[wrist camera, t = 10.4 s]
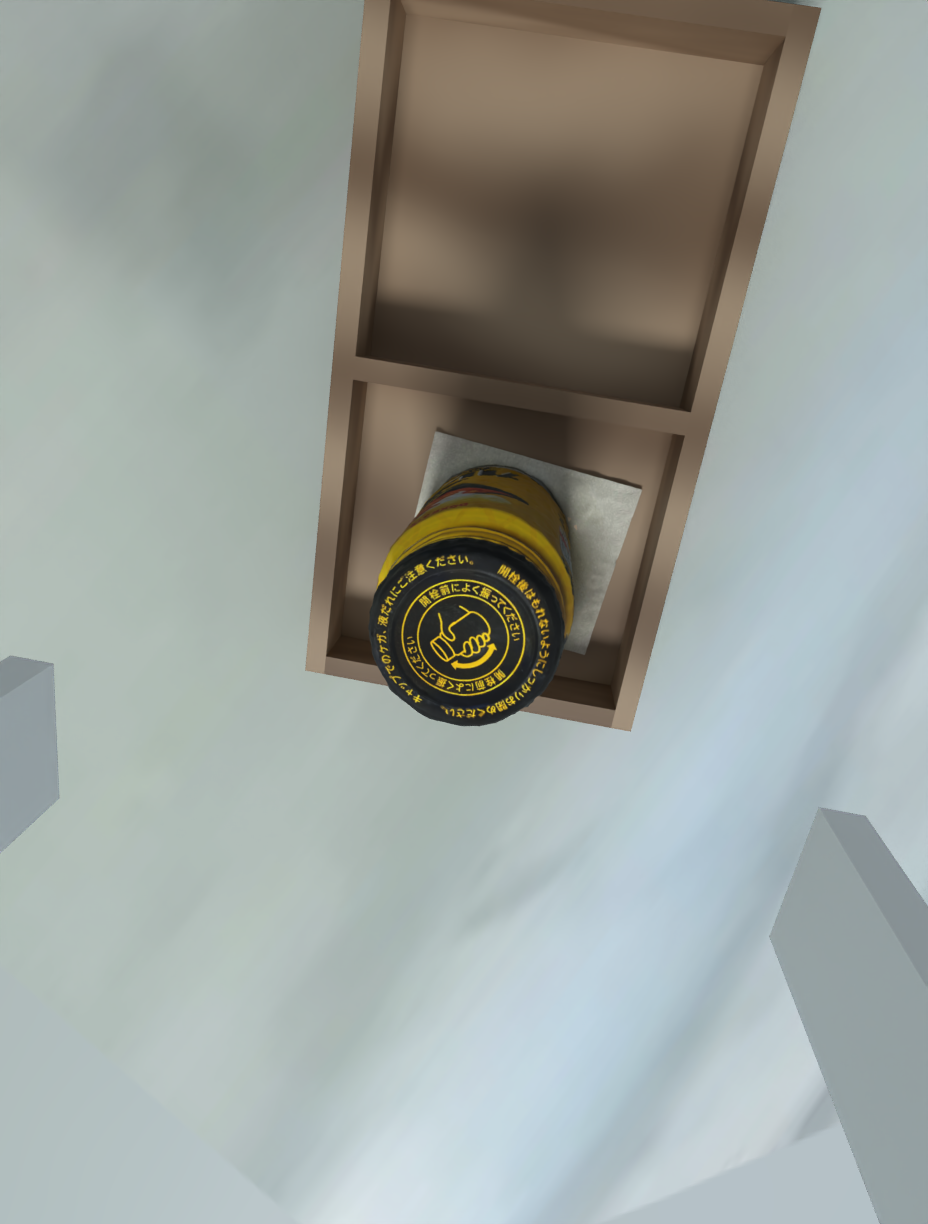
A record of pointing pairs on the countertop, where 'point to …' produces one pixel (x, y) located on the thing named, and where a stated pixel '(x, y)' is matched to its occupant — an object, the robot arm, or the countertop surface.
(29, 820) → the robot arm
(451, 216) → the caddy
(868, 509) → the countertop surface
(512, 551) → the condiment
